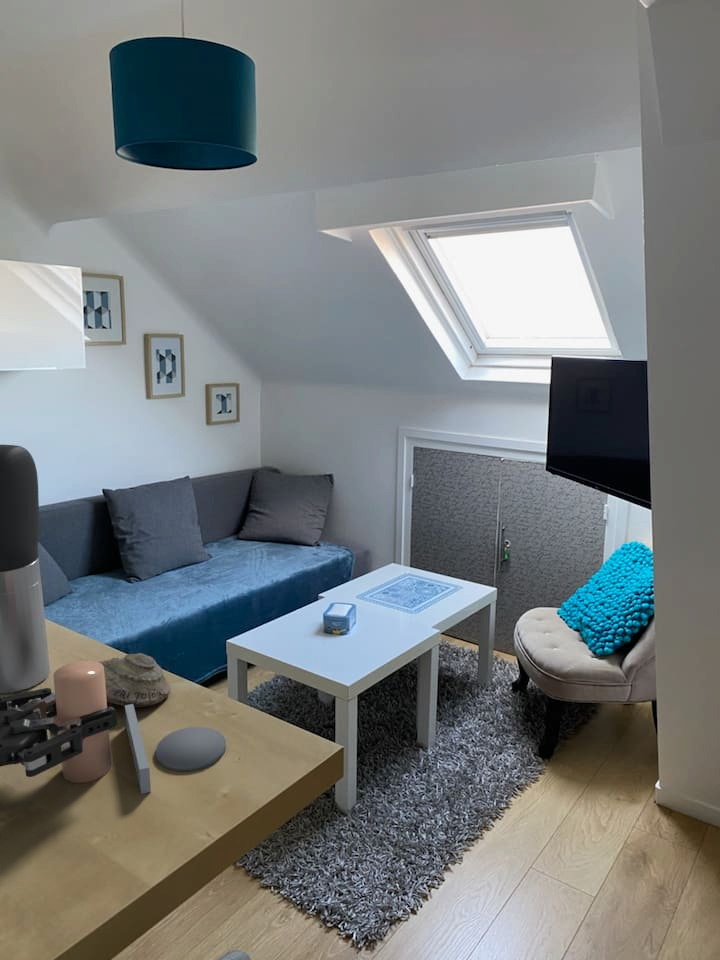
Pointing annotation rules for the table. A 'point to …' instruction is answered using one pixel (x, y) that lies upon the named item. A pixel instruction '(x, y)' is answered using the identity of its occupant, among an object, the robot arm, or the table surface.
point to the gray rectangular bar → (137, 749)
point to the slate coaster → (190, 748)
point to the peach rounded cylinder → (78, 697)
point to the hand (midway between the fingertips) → (105, 705)
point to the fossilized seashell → (134, 681)
